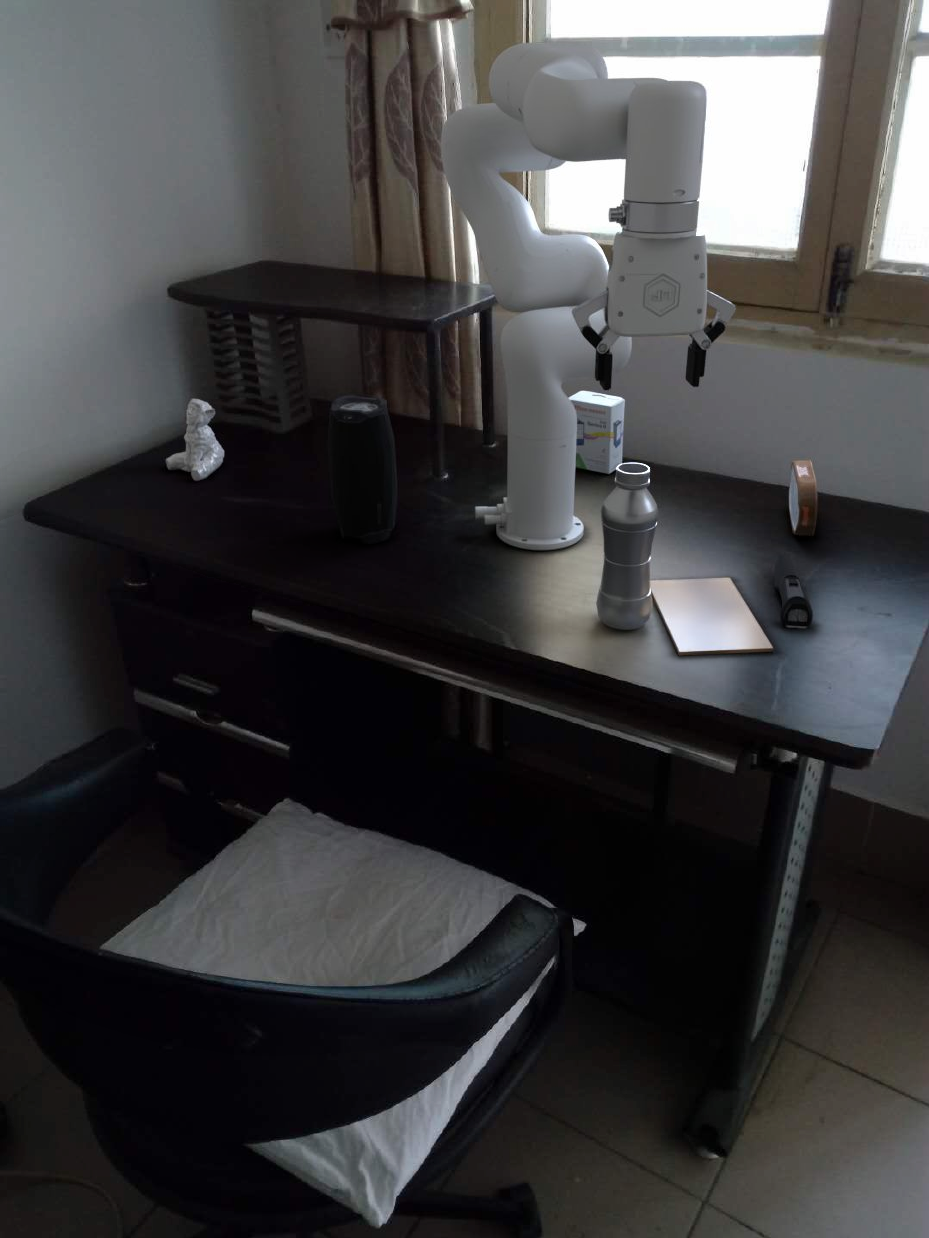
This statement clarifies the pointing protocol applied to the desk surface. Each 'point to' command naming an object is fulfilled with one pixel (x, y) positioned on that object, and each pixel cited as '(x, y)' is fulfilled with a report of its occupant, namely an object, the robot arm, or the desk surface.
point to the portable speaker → (362, 467)
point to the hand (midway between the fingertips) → (648, 385)
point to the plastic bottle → (627, 549)
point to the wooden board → (707, 617)
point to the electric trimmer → (792, 594)
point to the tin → (803, 498)
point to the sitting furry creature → (198, 443)
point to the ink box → (598, 431)
